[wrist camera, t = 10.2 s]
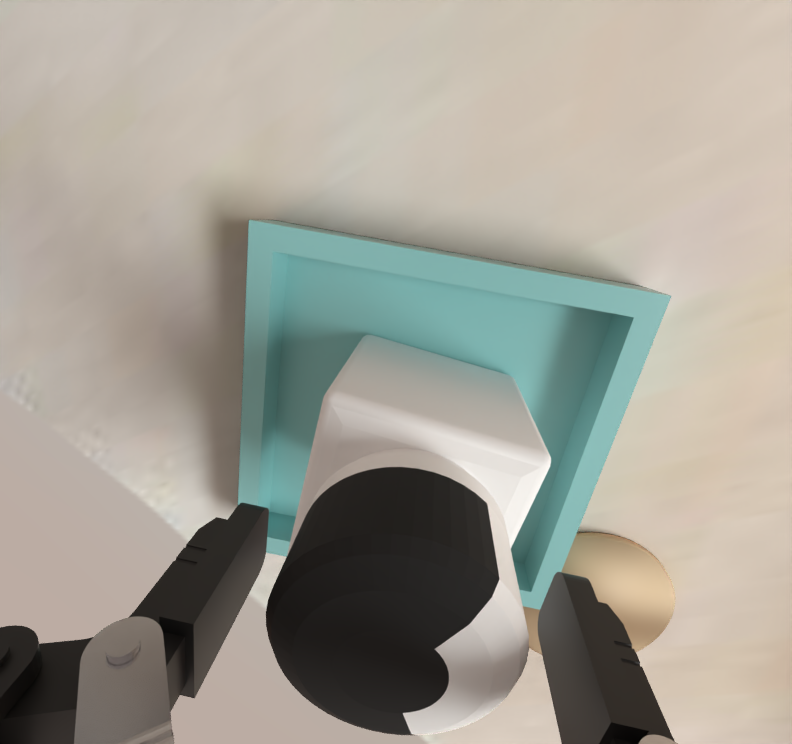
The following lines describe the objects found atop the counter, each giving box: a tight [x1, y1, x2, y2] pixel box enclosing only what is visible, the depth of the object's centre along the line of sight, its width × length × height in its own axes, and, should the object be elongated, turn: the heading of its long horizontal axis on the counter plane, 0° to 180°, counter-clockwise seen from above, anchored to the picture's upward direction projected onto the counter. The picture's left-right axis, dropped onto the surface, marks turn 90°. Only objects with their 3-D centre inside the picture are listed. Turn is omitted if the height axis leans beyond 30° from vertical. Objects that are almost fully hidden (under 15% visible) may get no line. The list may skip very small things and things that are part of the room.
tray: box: [238, 220, 671, 610], centre depth 20 cm, size 16×16×2 cm
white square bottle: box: [266, 335, 551, 735], centre depth 15 cm, size 7×7×12 cm
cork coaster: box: [523, 532, 675, 654], centre depth 23 cm, size 9×9×1 cm
